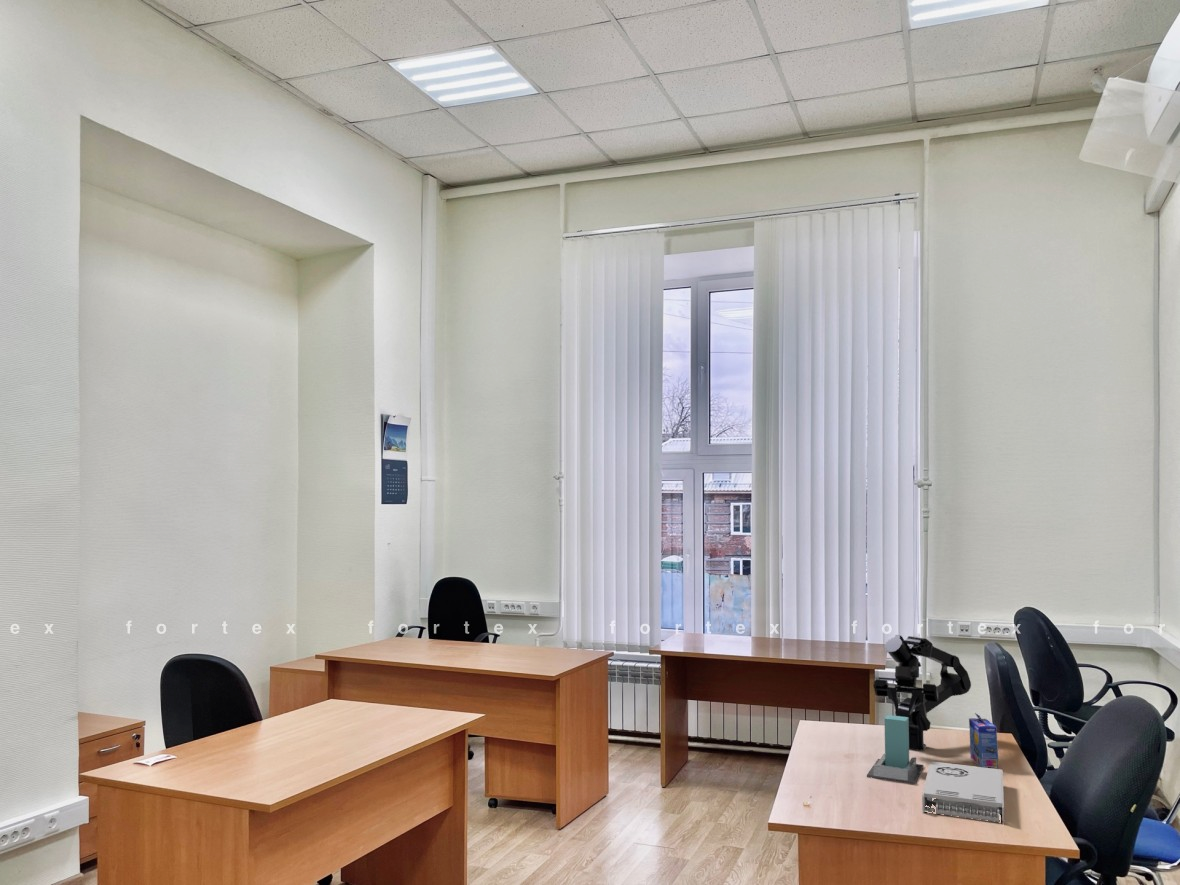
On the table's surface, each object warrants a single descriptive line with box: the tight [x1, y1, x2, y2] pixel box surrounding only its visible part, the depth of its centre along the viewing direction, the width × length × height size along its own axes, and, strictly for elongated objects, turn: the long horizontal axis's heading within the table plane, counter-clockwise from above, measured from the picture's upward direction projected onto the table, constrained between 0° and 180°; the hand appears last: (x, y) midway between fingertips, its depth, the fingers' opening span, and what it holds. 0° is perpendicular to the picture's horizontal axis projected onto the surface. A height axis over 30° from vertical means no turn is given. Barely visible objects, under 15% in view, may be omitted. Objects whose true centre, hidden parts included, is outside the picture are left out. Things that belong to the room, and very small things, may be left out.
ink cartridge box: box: [968, 712, 999, 769], centre depth 270 cm, size 10×6×14 cm, turn 174°
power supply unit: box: [921, 761, 1005, 824], centre depth 237 cm, size 19×33×5 cm, turn 156°
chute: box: [866, 753, 924, 785], centre depth 260 cm, size 18×13×4 cm
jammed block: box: [884, 714, 910, 768], centre depth 263 cm, size 5×6×14 cm
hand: (902, 713), depth 275 cm, fingers open, 3 cm apart
